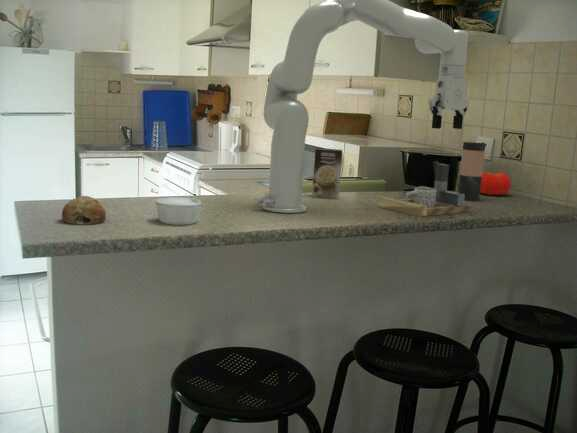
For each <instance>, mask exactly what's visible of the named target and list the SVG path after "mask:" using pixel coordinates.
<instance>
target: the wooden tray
mask: <svg viewBox="0 0 577 433" xmlns="http://www.w3.org/2000/svg"><path fill="white" fill-rule="evenodd" d="M413 201H414V197H413V198H408V202H407V201H405V198H399V199H398V198H393V197H388V196H381V197H378V208H382V209H384V210H390V211H394V212H399V213H402V214H406V215H410V216H414V217H419V218H421V217H430V216H441V215H453V214H463V213H465V214H466V213H472V212H473V210H474V209H473V208H474V205H472V204H464V205H463V206H455V205H446V206H435V207H431V208H427V206H425V205H420V204H416V203H413ZM436 204H437V202H436V201H435V205H436Z"/></svg>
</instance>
